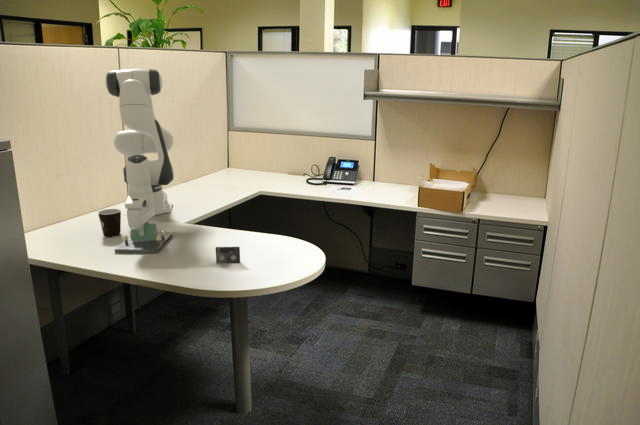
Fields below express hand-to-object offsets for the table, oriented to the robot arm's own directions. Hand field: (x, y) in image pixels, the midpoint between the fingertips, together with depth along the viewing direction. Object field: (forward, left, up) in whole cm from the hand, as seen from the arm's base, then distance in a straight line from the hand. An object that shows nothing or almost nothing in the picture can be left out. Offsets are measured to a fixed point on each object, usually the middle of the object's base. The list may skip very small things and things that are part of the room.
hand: (144, 233), depth 206 cm
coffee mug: (-10, -17, -5) cm, 20 cm away
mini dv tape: (+19, +36, -5) cm, 41 cm away
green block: (0, 0, -2) cm, 2 cm away
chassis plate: (0, 0, -5) cm, 5 cm away
